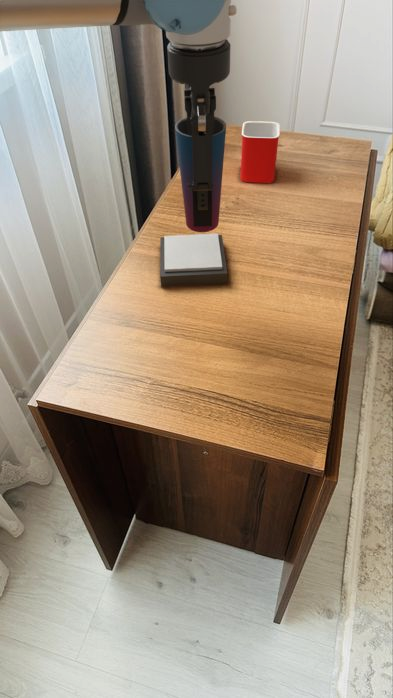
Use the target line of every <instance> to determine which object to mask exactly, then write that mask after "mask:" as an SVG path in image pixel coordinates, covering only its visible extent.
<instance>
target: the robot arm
mask: <svg viewBox="0 0 393 698" xmlns="http://www.w3.org/2000/svg"><path fill="white" fill-rule="evenodd" d="M236 14H237V7H236V5H234V4H232V0H0V32H14V31H33V30H55V29H69V28H71V29H73V28H88V27H90V28H91V27H108V26H109V27H110V26H123V27H124V26H142V25H144V26H145V25H154V26H156V27H157V28H158V29H160V30H162V31H165V36H166V39H168V41H169V42H168V44H167V49H166V50H167V64H168V65H167V66H168V75H169V77H170V79H171V80H172V81H174V82H175V83H178V84H181V85H186V86H188V87H189V88H184V89H183V95H184V98H183V99H184V110H185V111H184V112H186V117H187V124H188V133H189V134H190V135H191V136H192V156H193V182H192V183H188V189H192V192H193V222H194V227H204V226H212V189H213V184H212V133H213V132H214V117H215V112H216V110H217V95H216V91H215V90H216V89H215V87H211V86H212V85H214V84H218V83H221V82H223V81H225V80H226V79H227V78H228V77H229V76H230V73H231V43H230V42H229V40H228V39H229V38H230V36H231V25H232V24H231V21H232V20H231V18H230V16H235V15H236Z"/></svg>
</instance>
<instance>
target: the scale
mask: <svg viewBox="0 0 393 698" xmlns="http://www.w3.org/2000/svg"><path fill="white" fill-rule="evenodd" d="M159 242H160V251H159V252H160V255H159V257H160V259H159V260H160V262H159V266H160V267H159V268H160V269H159V272H160V273H159V274H160V275H159V278H160V287H161V288H164V287H185V286H187V287H189V286H205V285H207V286H208V285H227V284H228V269H227V260H226V255H225V246H224V240H223V234H219V233H198V234H196V233H195V234H178V235H177V234H176V235H164V237H163V236H162V237H160V241H159Z"/></svg>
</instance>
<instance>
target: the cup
mask: <svg viewBox="0 0 393 698" xmlns="http://www.w3.org/2000/svg"><path fill="white" fill-rule="evenodd" d="M174 130H175V139H176V147H177V155H178V165H179V173H180V182H181V190H182V198H183V209H184V217H185V224H186V227H187V228H188V229H189V230H190V231H193V232H195V233H207V232H208V233H209V232H211V231H214V230H215V229H216V228H217V227H218V226H219V223H220V210H221V198H222V187H223V186H222V183H223V173H224V172H223V170H224V158H225V157H224V156H225V148H226V147H225V146H226V134H227V123H226V122H225V121H224V120H223V119H222V118H221V117H217V116H214V132H213V133H212V184H213V189H212V226H204V227H194V222H193V192H192V189H188V183H192V182H193V156H192V136H191V135H190V134H189V133H188V124H187V116H186V117H183V118H181V119H179V120H178V121H177V122H176V123H175V125H174Z"/></svg>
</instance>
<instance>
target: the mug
mask: <svg viewBox="0 0 393 698" xmlns="http://www.w3.org/2000/svg"><path fill="white" fill-rule="evenodd" d="M280 134H281V124H280V123H279V122H276V121H264V120H263V121H258V120H248V121H247V120H246V121H244V122H243V123H242V127H241V154H240V155H241V156H240V157H241V158H240V174H239V175H240V176H239V177H240V180H241V182H244V183H254V184H255V183H257V184H270V183H273V182H274V181H275V175H276V165H277V158H278V157H277V156H278V146H279V138H280V137H281V135H280Z"/></svg>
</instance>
